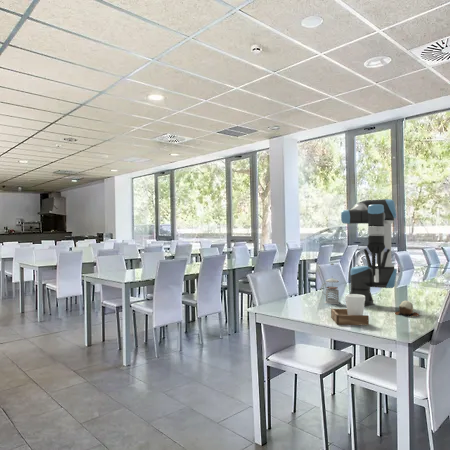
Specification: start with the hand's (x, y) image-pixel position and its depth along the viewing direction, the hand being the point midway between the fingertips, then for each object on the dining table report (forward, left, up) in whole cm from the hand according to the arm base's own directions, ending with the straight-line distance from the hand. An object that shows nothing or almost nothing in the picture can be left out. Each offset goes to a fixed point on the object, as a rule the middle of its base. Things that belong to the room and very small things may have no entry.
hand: (376, 282), depth 196 cm
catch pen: (0, -13, -20) cm, 24 cm away
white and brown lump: (-18, +21, -20) cm, 34 cm away
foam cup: (+1, -11, -20) cm, 23 cm away
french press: (-50, -14, -20) cm, 56 cm away
